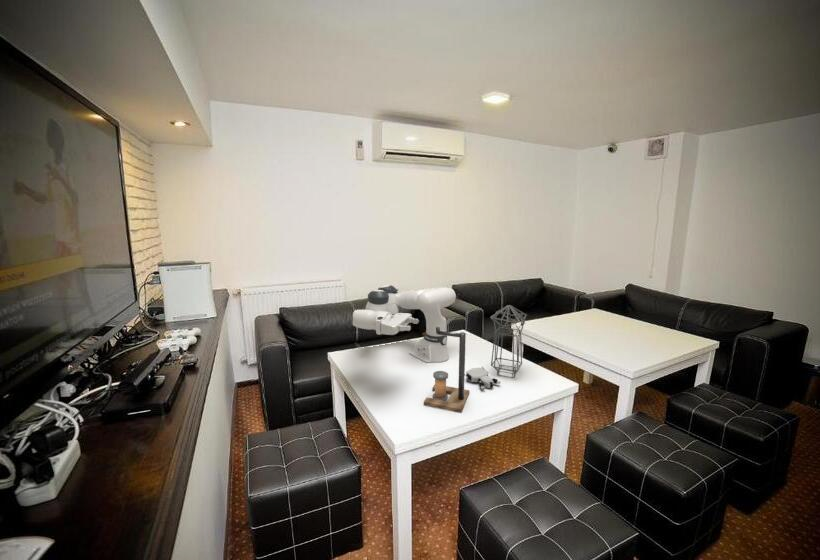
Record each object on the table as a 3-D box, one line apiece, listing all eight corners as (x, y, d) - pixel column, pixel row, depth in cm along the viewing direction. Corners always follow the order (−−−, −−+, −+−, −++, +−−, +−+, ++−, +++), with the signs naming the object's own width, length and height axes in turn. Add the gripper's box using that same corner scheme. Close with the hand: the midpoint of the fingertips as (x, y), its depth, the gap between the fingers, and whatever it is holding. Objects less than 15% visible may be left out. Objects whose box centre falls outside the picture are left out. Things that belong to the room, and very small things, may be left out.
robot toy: (502, 388, 154) (481, 372, 167) (503, 379, 153) (481, 364, 166) (481, 395, 149) (461, 378, 161) (482, 386, 148) (461, 370, 160)
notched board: (423, 405, 139) (423, 401, 139) (434, 387, 154) (434, 384, 154) (461, 412, 133) (461, 409, 133) (469, 393, 148) (469, 390, 148)
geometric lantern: (487, 376, 164) (489, 307, 158) (494, 364, 178) (497, 300, 172) (520, 383, 157) (523, 310, 151) (525, 370, 170) (529, 303, 165)
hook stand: (434, 394, 144) (435, 328, 138) (436, 392, 146) (436, 326, 141) (463, 400, 140) (465, 331, 134) (464, 397, 142) (466, 330, 136)
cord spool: (430, 398, 144) (430, 374, 142) (438, 392, 149) (439, 369, 147) (442, 403, 140) (442, 379, 138) (450, 397, 145) (451, 373, 143)
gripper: (394, 321, 158) (422, 324, 153) (374, 335, 139) (405, 339, 134) (394, 308, 157) (422, 311, 152) (374, 321, 138) (405, 324, 133)
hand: (414, 324), depth 143 cm, fingers open, 8 cm apart
